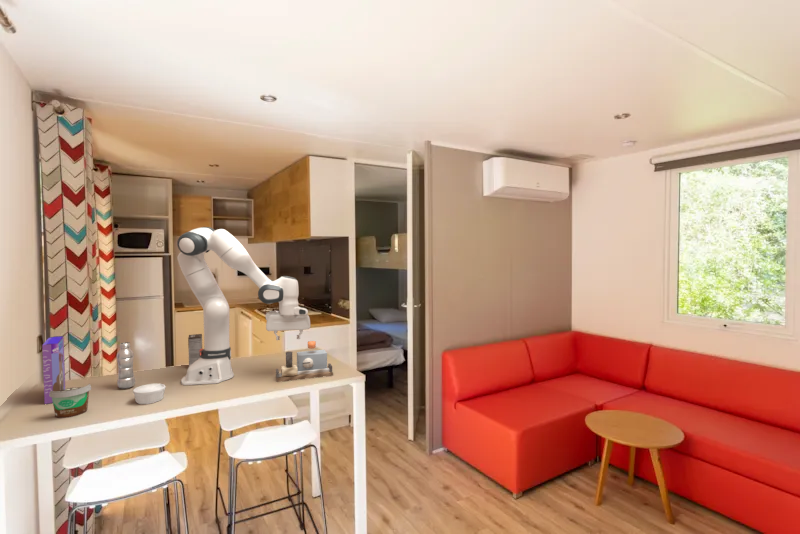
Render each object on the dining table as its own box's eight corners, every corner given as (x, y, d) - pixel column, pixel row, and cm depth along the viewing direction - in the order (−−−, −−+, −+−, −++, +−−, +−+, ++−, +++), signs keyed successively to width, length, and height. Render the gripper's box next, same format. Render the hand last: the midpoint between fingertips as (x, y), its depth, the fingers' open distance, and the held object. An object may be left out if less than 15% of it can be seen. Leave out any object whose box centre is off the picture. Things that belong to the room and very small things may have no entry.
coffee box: (189, 364, 217) (188, 334, 217) (202, 363, 220) (202, 333, 219) (188, 368, 209) (188, 338, 208) (202, 367, 212) (201, 336, 211)
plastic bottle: (138, 385, 183) (137, 341, 182) (125, 391, 176) (123, 345, 176) (127, 384, 185) (126, 341, 184) (113, 389, 178) (112, 344, 177)
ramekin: (169, 400, 165) (168, 387, 165) (137, 408, 158) (136, 394, 157) (161, 393, 173) (161, 381, 173) (130, 400, 166) (130, 387, 165)
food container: (48, 422, 144) (47, 394, 144) (50, 416, 149) (48, 389, 149) (91, 414, 152) (90, 387, 151) (92, 408, 157) (91, 383, 156)
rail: (276, 382, 188) (276, 372, 188) (275, 377, 195) (275, 368, 194) (332, 375, 197) (332, 366, 197) (329, 371, 204) (329, 362, 204)
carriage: (282, 377, 189) (281, 354, 189) (281, 373, 195) (280, 351, 194) (297, 375, 192) (297, 353, 191) (296, 372, 197) (295, 350, 197)
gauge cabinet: (299, 374, 200) (298, 356, 199) (296, 369, 208) (296, 352, 207) (327, 371, 205) (327, 353, 204) (324, 366, 213) (324, 349, 212)
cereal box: (60, 402, 164) (58, 343, 163) (44, 404, 161) (42, 344, 160) (65, 389, 178) (63, 335, 177) (51, 391, 175) (49, 336, 174)
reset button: (308, 348, 204) (308, 343, 203) (307, 347, 207) (307, 341, 207) (316, 348, 205) (316, 342, 205) (315, 346, 209) (315, 340, 209)
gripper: (266, 311, 186) (265, 342, 186) (311, 310, 193) (310, 339, 193) (265, 310, 191) (264, 339, 192) (309, 308, 199) (308, 337, 199)
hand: (288, 339), depth 193 cm, fingers open, 8 cm apart
